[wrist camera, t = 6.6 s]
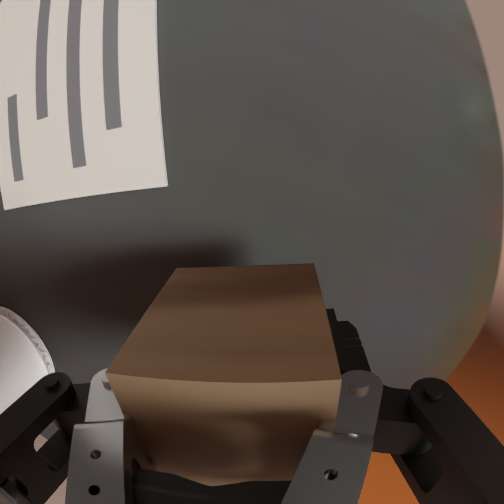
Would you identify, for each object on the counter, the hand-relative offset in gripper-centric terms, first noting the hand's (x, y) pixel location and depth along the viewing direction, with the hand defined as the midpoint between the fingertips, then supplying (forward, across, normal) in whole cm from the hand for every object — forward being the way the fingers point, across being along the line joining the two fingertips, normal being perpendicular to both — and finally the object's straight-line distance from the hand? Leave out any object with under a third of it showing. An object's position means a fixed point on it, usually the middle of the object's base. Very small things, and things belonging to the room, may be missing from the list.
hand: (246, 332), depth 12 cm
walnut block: (+1, 0, 0) cm, 1 cm away
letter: (+4, +9, -12) cm, 16 cm away
